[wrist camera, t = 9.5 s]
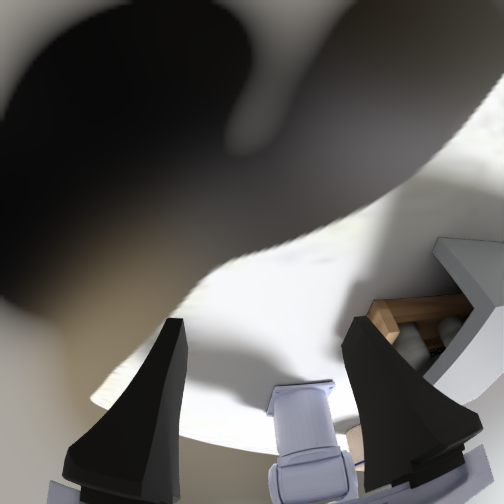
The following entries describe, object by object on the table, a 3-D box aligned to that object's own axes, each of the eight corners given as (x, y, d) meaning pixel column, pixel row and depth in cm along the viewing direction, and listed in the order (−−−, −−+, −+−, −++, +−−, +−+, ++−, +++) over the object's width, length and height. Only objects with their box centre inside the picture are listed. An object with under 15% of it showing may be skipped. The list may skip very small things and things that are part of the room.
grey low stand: (456, 355, 35) (476, 398, 27) (364, 374, 33) (381, 432, 26) (526, 244, 22) (565, 289, 15) (438, 237, 21) (495, 307, 14)
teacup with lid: (352, 437, 52) (362, 480, 43) (337, 432, 48) (348, 481, 38) (400, 416, 48) (414, 460, 39) (392, 409, 44) (407, 459, 34)
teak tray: (452, 330, 30) (470, 362, 25) (351, 346, 29) (365, 389, 24) (477, 291, 26) (500, 324, 21) (373, 300, 25) (395, 347, 20)
